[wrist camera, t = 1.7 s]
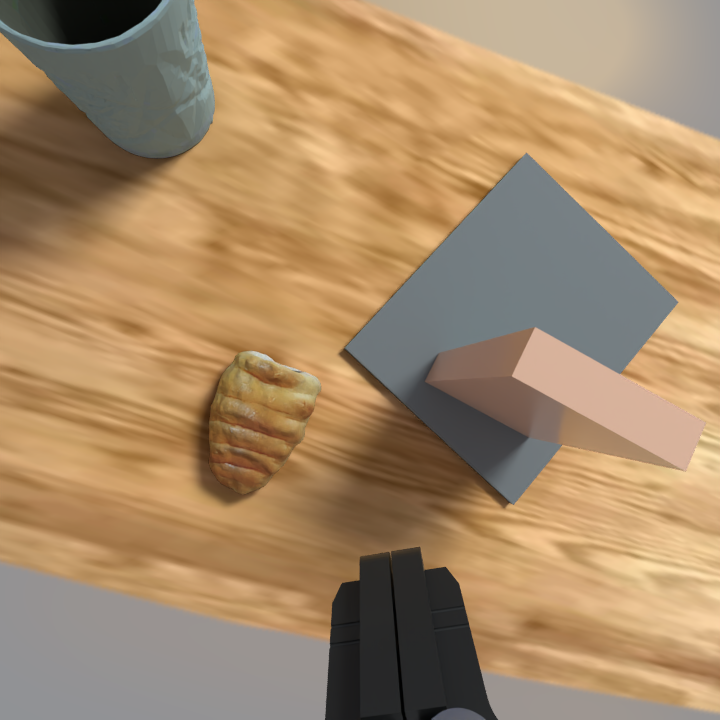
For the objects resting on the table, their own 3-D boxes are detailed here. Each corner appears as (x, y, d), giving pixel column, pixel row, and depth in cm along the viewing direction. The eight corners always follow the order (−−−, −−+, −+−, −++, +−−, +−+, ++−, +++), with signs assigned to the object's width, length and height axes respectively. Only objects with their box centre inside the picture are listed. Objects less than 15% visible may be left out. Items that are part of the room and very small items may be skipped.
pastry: (280, 500, 32) (277, 515, 28) (188, 470, 31) (172, 481, 28) (325, 376, 33) (327, 374, 29) (236, 344, 32) (227, 338, 29)
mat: (344, 348, 33) (345, 347, 32) (522, 156, 36) (526, 152, 35) (509, 502, 34) (513, 504, 33) (672, 303, 37) (678, 302, 36)
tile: (528, 437, 34) (685, 471, 20) (424, 381, 33) (511, 376, 19) (542, 407, 34) (707, 419, 20) (439, 351, 33) (536, 323, 19)
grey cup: (230, 48, 33) (189, -140, 22) (221, 180, 33) (174, 61, 21) (85, 29, 32) (-43, -180, 20) (73, 166, 32) (-67, 31, 20)
